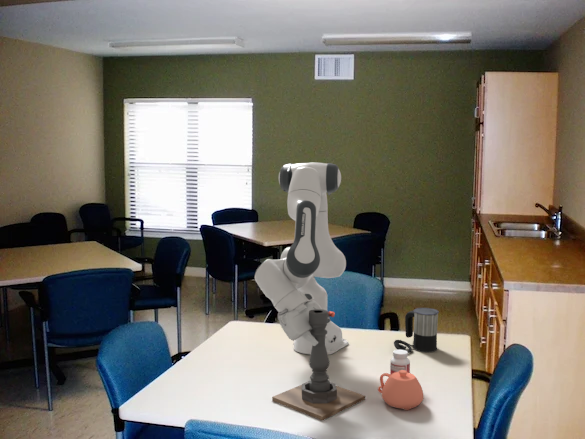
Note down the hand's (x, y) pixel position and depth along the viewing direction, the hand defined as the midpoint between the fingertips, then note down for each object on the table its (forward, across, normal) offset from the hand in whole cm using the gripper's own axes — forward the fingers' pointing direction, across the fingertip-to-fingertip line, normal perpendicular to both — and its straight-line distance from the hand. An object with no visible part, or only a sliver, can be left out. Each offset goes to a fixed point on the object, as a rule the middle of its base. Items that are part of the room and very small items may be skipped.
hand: (320, 341), depth 186 cm
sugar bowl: (+28, +10, -2) cm, 30 cm away
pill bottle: (+25, +23, +1) cm, 34 cm away
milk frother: (+21, +59, +5) cm, 63 cm away
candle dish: (+13, 0, +13) cm, 18 cm away
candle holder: (+11, 0, +11) cm, 16 cm away
